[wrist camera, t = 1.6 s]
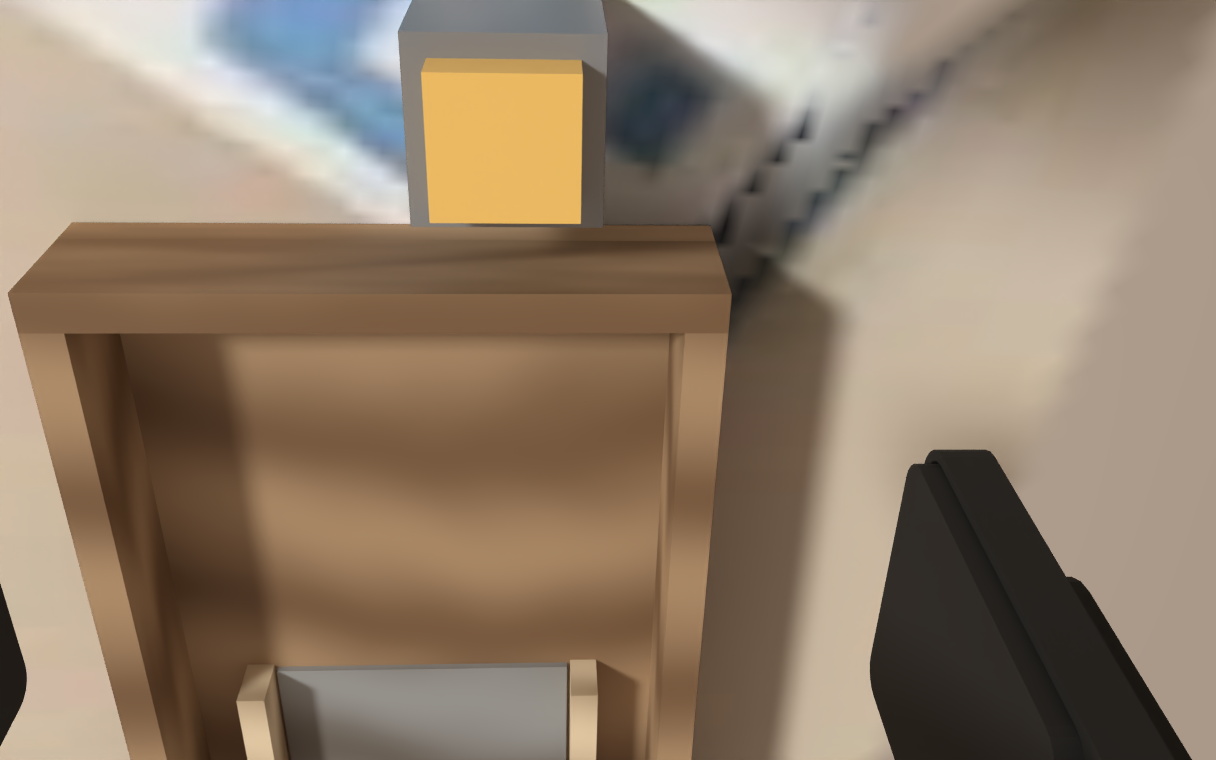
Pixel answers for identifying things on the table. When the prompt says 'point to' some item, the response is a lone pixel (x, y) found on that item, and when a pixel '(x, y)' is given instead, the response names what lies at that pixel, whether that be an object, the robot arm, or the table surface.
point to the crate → (387, 482)
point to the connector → (504, 112)
